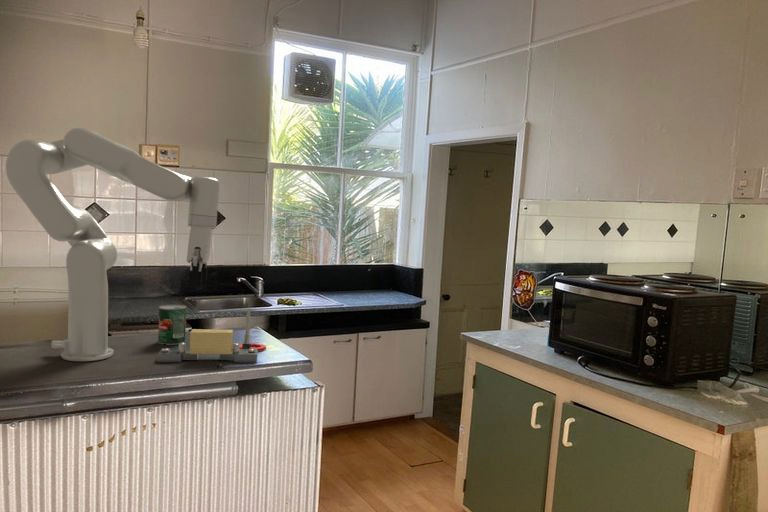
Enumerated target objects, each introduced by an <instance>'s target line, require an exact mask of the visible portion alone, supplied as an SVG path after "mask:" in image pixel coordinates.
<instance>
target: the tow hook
mask: <svg viewBox="0 0 768 512" xmlns="http://www.w3.org/2000/svg"><path fill="white" fill-rule="evenodd" d="M246 313H247V314H246V317H245V333H244V340H243V342H242V343H239V344H240V348H239V349H258V350H257V353H259V352H261V351H265V350H266V349H267V346H266V345H265V344H262V343H256V342H255V343H254V342H253V343H252V342H251V341H250V340H251V335H250V328H251V308H247V311H246Z"/></svg>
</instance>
